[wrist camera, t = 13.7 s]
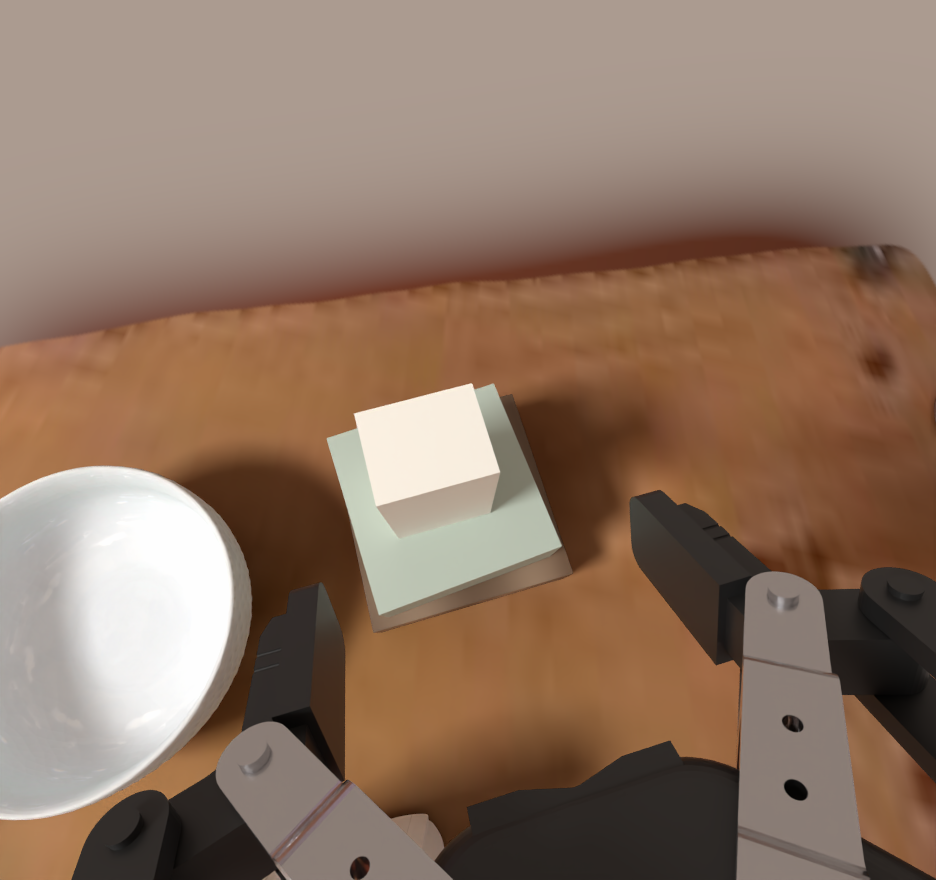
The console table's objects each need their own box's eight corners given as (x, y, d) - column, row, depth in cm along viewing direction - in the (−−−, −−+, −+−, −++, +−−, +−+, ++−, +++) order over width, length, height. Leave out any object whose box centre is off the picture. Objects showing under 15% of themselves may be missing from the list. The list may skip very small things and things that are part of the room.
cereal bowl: (167, 445, 37) (104, 405, 31) (334, 611, 34) (303, 606, 27) (-57, 640, 33) (-187, 642, 26) (109, 854, 30) (7, 919, 23)
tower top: (490, 410, 35) (493, 383, 31) (550, 556, 32) (562, 546, 28) (341, 460, 34) (326, 438, 30) (389, 617, 31) (378, 615, 27)
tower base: (507, 416, 39) (512, 393, 36) (561, 579, 35) (573, 573, 32) (344, 458, 38) (332, 439, 34) (382, 632, 34) (373, 632, 30)
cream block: (469, 444, 30) (472, 383, 22) (490, 513, 29) (500, 472, 21) (381, 468, 29) (353, 413, 22) (399, 538, 28) (375, 506, 21)
